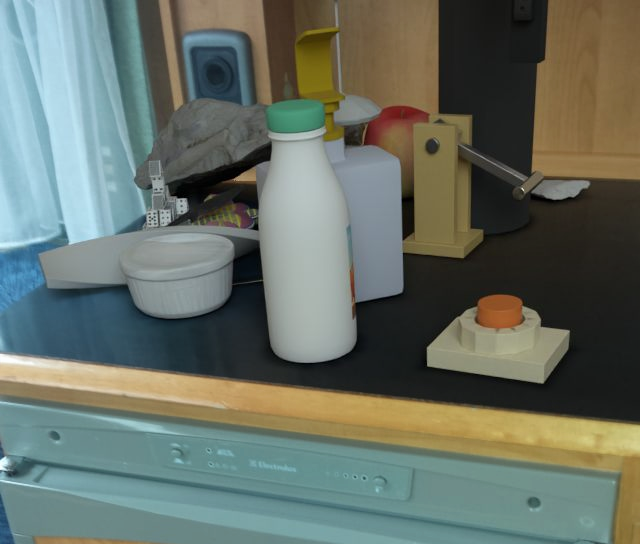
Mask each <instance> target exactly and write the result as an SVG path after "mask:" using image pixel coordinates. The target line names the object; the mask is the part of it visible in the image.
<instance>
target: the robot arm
mask: <svg viewBox="0 0 640 544" xmlns="http://www.w3.org/2000/svg"><path fill="white" fill-rule="evenodd" d="M548 13H549V0H511V27H510V54H509V63H537V64H540V63H542V62H544V61H546V53H547V51H546V50H547V32H548V15H549V14H548Z"/></svg>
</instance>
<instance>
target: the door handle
mask: <svg viewBox="0 0 640 544" xmlns="http://www.w3.org/2000/svg"><path fill="white" fill-rule="evenodd" d="M189 225H190V224H189ZM178 233H206V234H214V235H218V236H222V237H225V238H227V239H229V240H230V241H231V242H232V243H233V244H234V247H235V257H234V259H233V261H234V260H235V259H239V258H240V257H242V256H245V255H247V254H249V253H251V252H253V251H255V250H257V249H260V239H259V230H255V229H253V230H250V229H242V228H233V227H223V226H203V225H190V226H170V227H159V228H152V229H145V230H142V229H140V230H135V231H130V232H124V233H119V234H112V235H107V236H101V237H97V238H92V239H87V240H83V241H79V242H75V243H71V244H66V245H63V246H59V247H56V248H53V249H49V250H46V251H43V252H39V253H37V257H38V263H39V267H40V270H41V273H42V276H43V278H44V281H45V284H46V287H47V289H51V290H53V289H55V290H56V289H57V290H58V289H59V290H61V289H63V290H65V289H67V290H68V289H70V290H71V289H72V290H73V289H94V288H108V287H109V288H110V287H118V286H120V287H121V286H126V285H127V286H128V284H127V281H126V278H125V275H124V273H123V272H122V271H121V269H120V266H119V256H120V254H121V252H122V251H123V250H124V249H126V248H127V247H129V246H130V245H133V244H135V243H137V242H140V241H142V240H146V239H149V238H153V237H158V236H162V235H170V234H178Z"/></svg>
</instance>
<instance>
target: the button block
mask: <svg viewBox="0 0 640 544" xmlns="http://www.w3.org/2000/svg"><path fill="white" fill-rule="evenodd" d="M477 313H478V305H477V306H475V307H474V306H473V307H471V308H469V309H466V310H465V311H464V312H463V313H462V314H461V315H460V316H457V317H455V319H454V320H453V321H452V322H451V323H449V325H448V326H447V327H446V328H445V329H444V330H443V331H442V332H441V333H440V334H439V335H438V336H437V337H436V338H435V339H434V340H433V341H432V342H431V343H430V344H429V345H428V346H427V347H426V366H427V367H429V368H436V369H442V370H448V371H449V370H450V371H456V372H461V373H469V374H474V375H475V374H477V375H483V376H489V377H495V378H496V377H497V378H503V379H510V380H517V381H522V382H530V383H536V384H545V382H546V381H547V379H548V378H549V376H550V375H551V374H552V372H553V371H554V369H555V368H556V367H557V366H558V364H559V362H561V360H562V358H563V357H564V356H565V354H566V353H567V352H568V350H569V345H570V344H569V343H570V334H571V333H570V332H571V331H570V330H568V329H561V328H553V327H552V328H551V327H545V326H541V324H542V319H541V317H540V315H539V313H538V311H536V310H534V309H532V308H529V307H527V306H525V305H522V322H521V325H518V326H515V327H512V328H503V329H495V328H487V327H483V326H481V325H478V323H477Z"/></svg>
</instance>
